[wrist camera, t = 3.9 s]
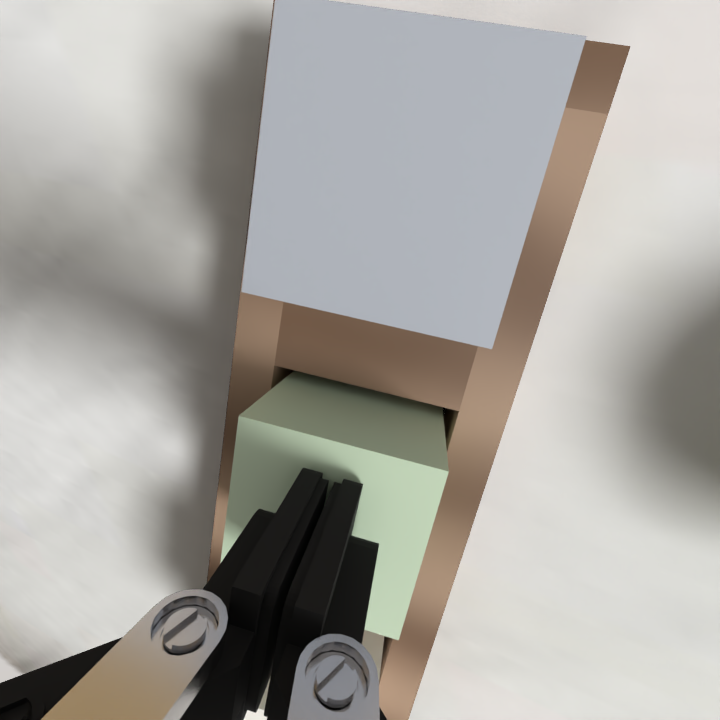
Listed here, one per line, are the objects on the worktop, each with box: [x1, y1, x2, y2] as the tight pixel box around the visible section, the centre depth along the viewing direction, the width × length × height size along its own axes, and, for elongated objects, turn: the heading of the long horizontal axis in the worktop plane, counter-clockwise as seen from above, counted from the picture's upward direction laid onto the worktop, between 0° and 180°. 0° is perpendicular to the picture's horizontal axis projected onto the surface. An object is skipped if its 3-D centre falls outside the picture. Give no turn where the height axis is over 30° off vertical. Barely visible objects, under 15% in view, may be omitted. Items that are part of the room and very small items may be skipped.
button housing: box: [207, 0, 630, 720], centre depth 15 cm, size 27×9×3 cm, turn 169°
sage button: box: [220, 370, 449, 640], centre depth 13 cm, size 6×6×5 cm
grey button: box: [241, 0, 587, 349], centre depth 10 cm, size 6×6×5 cm
